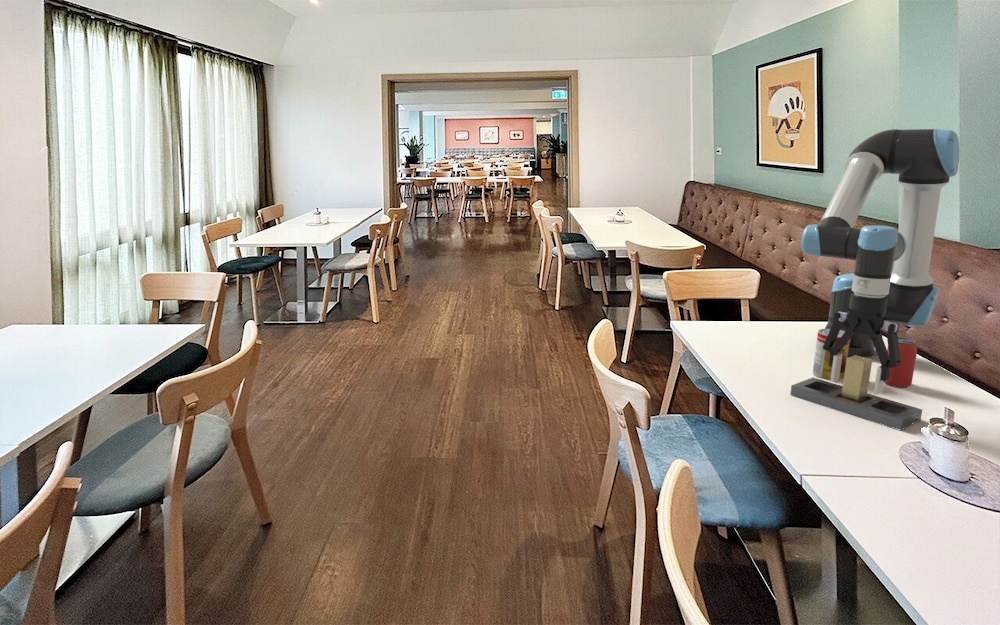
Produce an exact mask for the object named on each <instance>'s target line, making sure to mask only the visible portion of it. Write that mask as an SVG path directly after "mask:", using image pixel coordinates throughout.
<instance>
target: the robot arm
mask: <svg viewBox="0 0 1000 625" xmlns="http://www.w3.org/2000/svg"><path fill="white" fill-rule="evenodd" d="M959 141H960V140H959V136H958V134H957V132H955V131H954V130H950V129H939V128H936V129H935V128H929V129H928V128H925V129H924V128H920V129H919V128H918V129H916V128H915V129H897V128H896V129H894V128H893V129H887V130H883V131H879V132H877V133H874V134H873V135H871V136H869V137H868V138H866V139H864V140H863V141H862V142H861V143H859V144H858V145H857V146H856V147H855V148H854V149H853V150H852V151H851V152H850V154H849V155H848V157H847V159H846V161H845V164H844V170H845V172H844V174H843V176H842V178H841V180H840V182H839V183H838V186H837V188H836V189H835V191H834V194H833V196H832V198H831V199H830V201H829V204H828V206H827V208H826V209H825V212H824V214H823V216H822V217H821V220H820V222H819V223H818V224H817V223H816V224H807V225H806V226H805V228H804V230H803V231H802V236H801V242H800V244H801V249H802V252H803V253H804V254H806V255H811V256H818V257H823V258H832V259H833V258H834V259H835V258H836V259H844V260H853V261H855V266H854V272H853V273H851V272H850V273H845V274H844V273H843V274H840V275H837V276H836V277H834V280H833V283H832V284H833V285H832V289H831V296H830V305H829V310H828V311H829V312H828V320H827V323H826V325H825V327H824V329H830V331H829V334H828V336H827V338H826V341H825V343H824V345H823V349H824V350H827V351H828V352H829V353H830V360H829V366H830V367H832V372H831V379H830V380H829V382H830V383H834V382H838V381H840V380H839V376H840V369H841V362H842V355H843V354H838V353H839V352H841V349H842V348H843V347H844V346H845V344H846V343H847V342H848V341H849V340H850V343H849V350H848V357H851V356H854V355H857V356H861V357H865V358H866V357H870V356H872V355H874V354H875V352H876V356H877V357H878V360H879V362H880V366H877V369H876V375H875V381H874V388H873V392H872V393H873V394H874V395H875V396H878V395H879V394H882V393H883V390H884V384H885V383H884V381H887V380H888V379H889V374H890V368H891V367H893V368H894V367H897V366H899V365H900V364H901V360H900V351H899V343H898V337H899V336H898V331H899V329H900V325H902V326H903V325H904V326H906V327H917V328H918V327H924V326H926V325H927V324H928V322H929V321H930V318H931V316H932V314H933V311H934V308H935V306H936V303H937V300H938V297H939V292H940V288H939V287H937V286H934V281H935V280H934V279H933V278H932V276H931V275H930V274H929V272H930V265H931V259H932V258H931V257H932V251H933V244H934V237H935V230H936V227H937V226H936V224H937V217H938V211H939V205H940V197H941V193H942V192H941V190H942V188H944V187H945V186H946V185H947V184H949V183H950V177H955V176H956V175H957V173H958V171H959V163H960V142H959ZM883 174H893V175H894V174H895V175H898V181H897V182H898V183H899V185H901V186H902V187H903V190H902V199H901V200H902V201H901V205H900V206H901V207H900V214H899V215H900V216H899V222H898V228H896V227H893V226H888V225H876V224H875V225H874V224H873V225H864V226H863V227H862V228H855V227H854V225H855V224H856V221H857V219H858V217H859V215H860V213H861V211H862V208H863V207H864V204H865V202H866V201H867V198H868V196H869V194H870V191H871V189H872V188H873V185H874V184H875V181H877V180H879V179H880V178H881V177H882V175H883ZM883 327H884V328H885V331H886V338H887V339H886V340H887V346H886V344H885V341H884V339H883V332H882V330H881V329H882V328H883ZM840 330H842V331H845V333H844V334H843V335H842V336H841V338H840V339H839V340H838V341H837V343H836V344H835V345H834V343H835V341H836V338H837V336H838V334H839V331H840ZM833 345H834V346H833ZM887 348H888V350H889V354H888V351H887ZM873 394H872V395H873Z"/></svg>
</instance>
